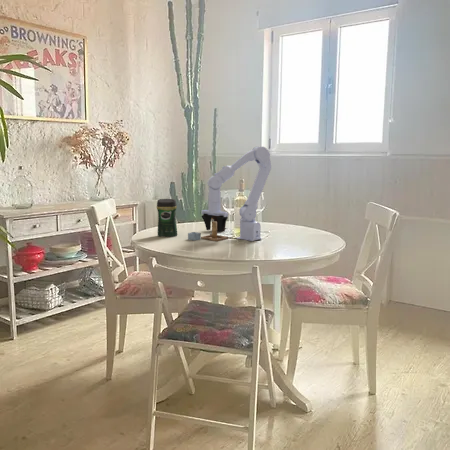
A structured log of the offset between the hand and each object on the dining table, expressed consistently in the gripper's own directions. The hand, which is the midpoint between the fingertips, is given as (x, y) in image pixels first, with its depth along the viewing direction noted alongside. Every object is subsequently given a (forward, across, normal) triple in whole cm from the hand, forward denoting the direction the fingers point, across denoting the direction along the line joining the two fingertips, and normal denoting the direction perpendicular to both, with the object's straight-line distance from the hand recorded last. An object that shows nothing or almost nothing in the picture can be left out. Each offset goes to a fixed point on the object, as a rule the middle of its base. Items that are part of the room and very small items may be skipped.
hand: (214, 230), depth 228 cm
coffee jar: (+5, -24, -8) cm, 25 cm away
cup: (+4, -6, -7) cm, 11 cm away
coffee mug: (+5, -16, +22) cm, 27 cm away
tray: (+4, 0, 0) cm, 4 cm away
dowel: (+4, 0, 0) cm, 4 cm away
